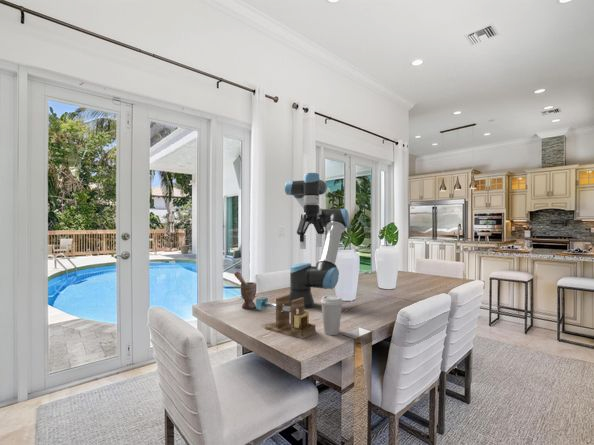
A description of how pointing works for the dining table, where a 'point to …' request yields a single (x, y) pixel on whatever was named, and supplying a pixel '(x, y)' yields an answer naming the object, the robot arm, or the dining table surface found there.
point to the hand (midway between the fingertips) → (311, 247)
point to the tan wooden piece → (298, 320)
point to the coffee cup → (331, 313)
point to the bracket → (283, 318)
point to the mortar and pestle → (247, 292)
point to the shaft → (269, 305)
